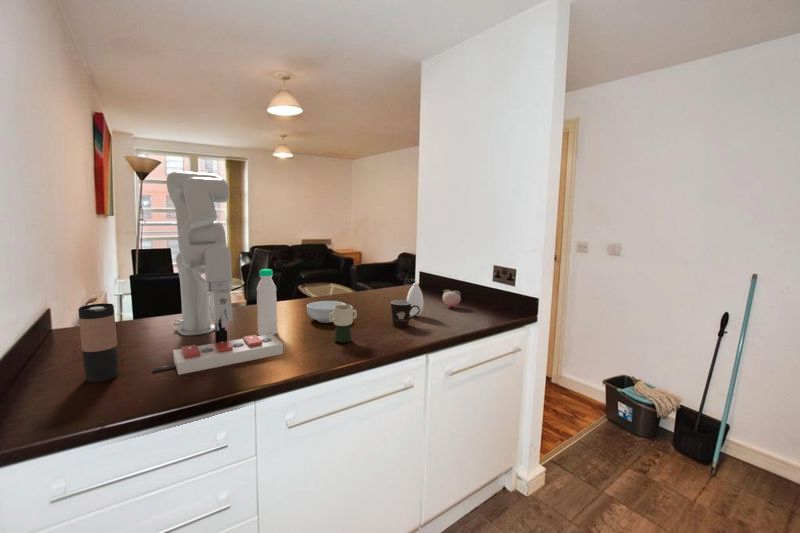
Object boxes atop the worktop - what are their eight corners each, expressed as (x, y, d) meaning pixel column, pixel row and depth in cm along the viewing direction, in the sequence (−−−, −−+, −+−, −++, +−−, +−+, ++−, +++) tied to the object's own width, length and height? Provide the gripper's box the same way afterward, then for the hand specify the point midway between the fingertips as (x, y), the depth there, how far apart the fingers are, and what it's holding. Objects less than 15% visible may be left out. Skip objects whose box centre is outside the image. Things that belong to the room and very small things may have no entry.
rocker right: (249, 346, 120) (249, 343, 120) (243, 339, 126) (243, 336, 126) (262, 344, 122) (262, 341, 122) (255, 337, 128) (255, 334, 128)
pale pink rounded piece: (441, 309, 188) (442, 289, 187) (442, 305, 196) (443, 286, 195) (460, 310, 187) (461, 290, 185) (460, 306, 195) (461, 287, 193)
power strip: (153, 379, 103) (152, 367, 103) (150, 365, 113) (149, 353, 113) (283, 353, 125) (282, 343, 124) (271, 343, 134) (271, 333, 134)
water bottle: (271, 337, 140) (269, 271, 137) (254, 336, 141) (252, 270, 138) (280, 332, 147) (279, 268, 143) (264, 330, 148) (262, 267, 145)
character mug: (352, 336, 144) (352, 303, 142) (360, 341, 138) (360, 307, 136) (325, 340, 138) (325, 306, 136) (332, 346, 132) (332, 310, 131)
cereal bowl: (353, 319, 167) (354, 303, 166) (327, 328, 153) (327, 311, 152) (325, 313, 176) (325, 298, 175) (298, 321, 162) (298, 305, 161)
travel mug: (97, 371, 108) (91, 303, 105) (126, 371, 109) (120, 303, 106) (77, 383, 100) (70, 310, 98) (107, 382, 101) (101, 310, 98)
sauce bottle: (423, 319, 170) (424, 279, 168) (406, 318, 170) (407, 279, 168) (422, 314, 178) (423, 276, 175) (406, 313, 178) (407, 276, 175)
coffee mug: (386, 327, 157) (387, 303, 155) (395, 321, 165) (395, 299, 163) (413, 330, 152) (413, 306, 151) (420, 325, 160) (420, 302, 159)
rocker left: (184, 358, 109) (184, 354, 109) (181, 349, 116) (181, 346, 115) (200, 355, 112) (200, 351, 111) (196, 347, 118) (195, 344, 118)
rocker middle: (218, 352, 114) (218, 348, 114) (213, 343, 121) (213, 340, 121) (232, 349, 117) (232, 346, 117) (227, 341, 123) (226, 337, 123)
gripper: (237, 288, 114) (239, 347, 117) (226, 280, 126) (228, 333, 129) (210, 291, 110) (213, 351, 112) (201, 282, 122) (204, 337, 124)
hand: (221, 341), depth 121 cm, fingers closed
